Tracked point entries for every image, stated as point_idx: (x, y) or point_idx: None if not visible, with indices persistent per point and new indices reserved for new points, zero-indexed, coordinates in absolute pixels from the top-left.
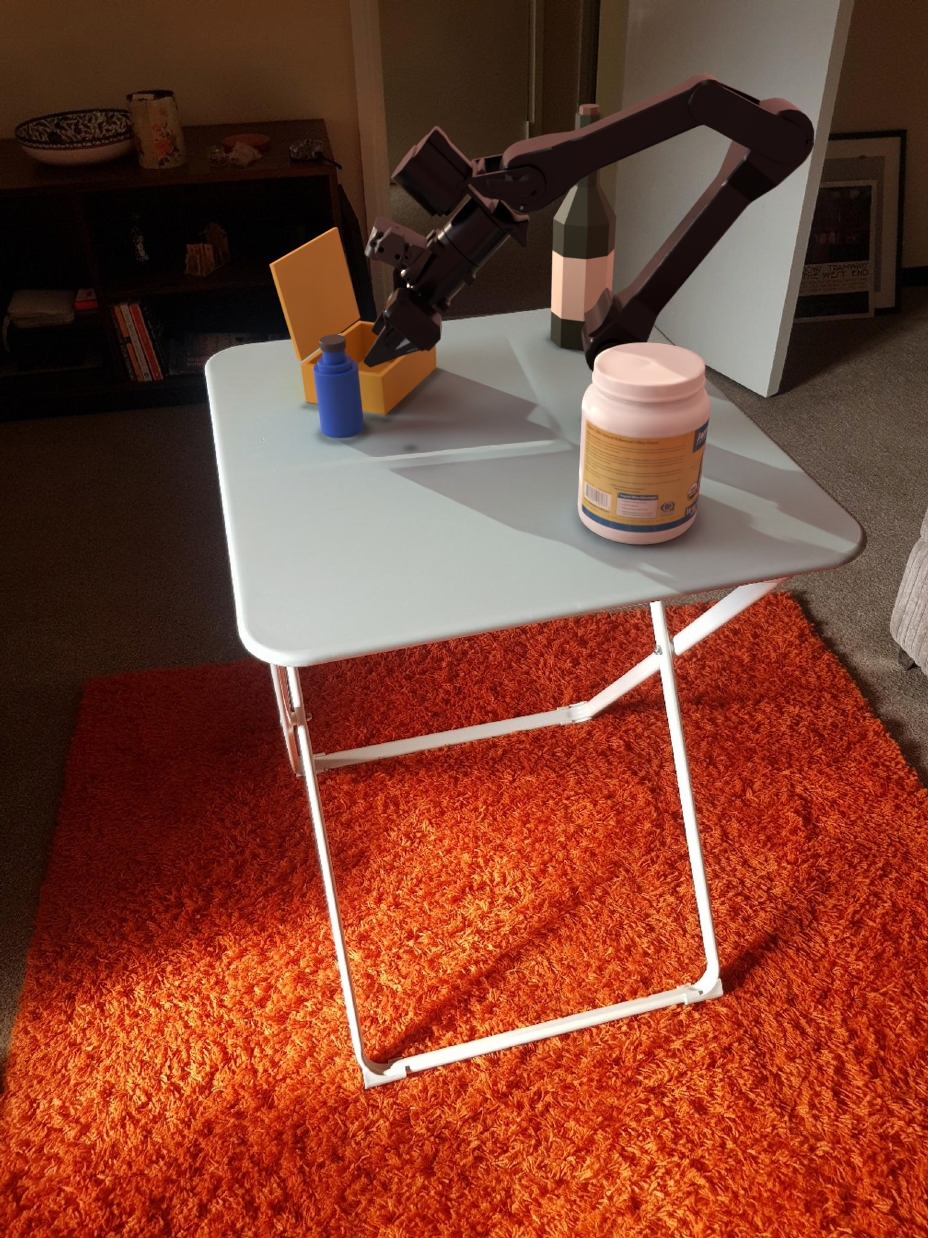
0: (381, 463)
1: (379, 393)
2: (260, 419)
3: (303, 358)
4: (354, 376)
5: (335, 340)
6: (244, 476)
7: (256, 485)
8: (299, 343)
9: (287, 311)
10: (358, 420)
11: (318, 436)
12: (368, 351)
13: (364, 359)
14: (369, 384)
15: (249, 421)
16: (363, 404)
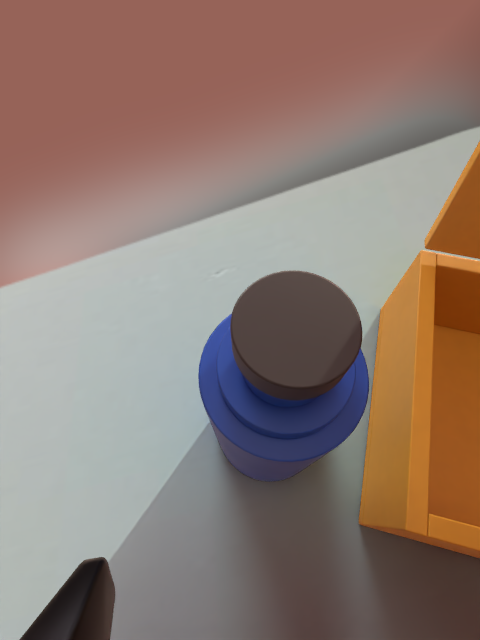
0: (112, 574)
1: (383, 512)
2: (303, 244)
3: (437, 248)
4: (254, 458)
5: (284, 343)
6: (76, 283)
7: (38, 313)
8: (460, 212)
9: None
10: (249, 472)
11: None
12: (74, 611)
13: (73, 572)
14: (395, 475)
15: (292, 229)
16: (374, 453)
